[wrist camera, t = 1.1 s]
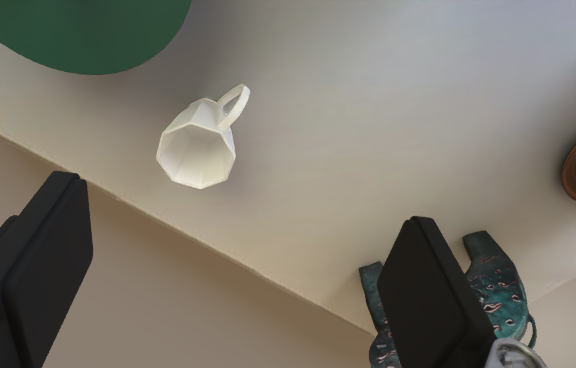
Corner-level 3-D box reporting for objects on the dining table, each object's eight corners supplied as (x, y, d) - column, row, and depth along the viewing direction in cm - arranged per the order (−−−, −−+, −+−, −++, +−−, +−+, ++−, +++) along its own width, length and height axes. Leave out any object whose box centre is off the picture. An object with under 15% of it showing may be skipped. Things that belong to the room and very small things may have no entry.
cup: (158, 118, 41) (138, 159, 35) (220, 48, 38) (211, 79, 31) (212, 157, 44) (202, 202, 38) (274, 97, 41) (276, 135, 34)
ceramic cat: (355, 289, 59) (389, 439, 42) (342, 261, 55) (374, 413, 39) (493, 249, 55) (588, 396, 39) (489, 216, 51) (592, 363, 35)
